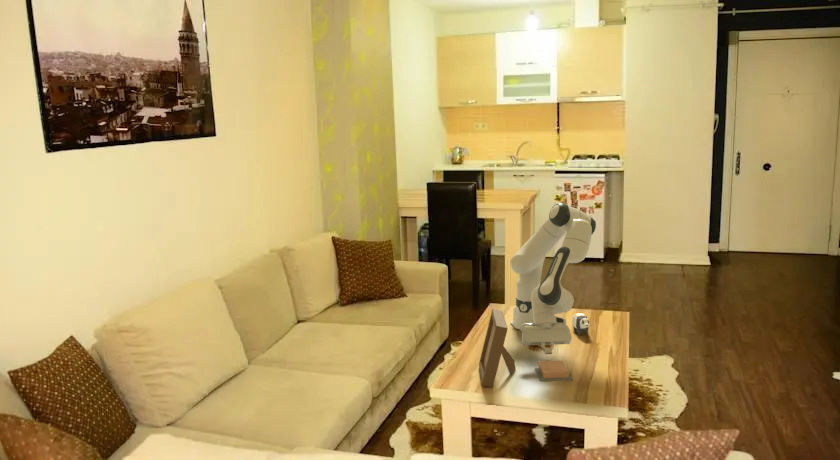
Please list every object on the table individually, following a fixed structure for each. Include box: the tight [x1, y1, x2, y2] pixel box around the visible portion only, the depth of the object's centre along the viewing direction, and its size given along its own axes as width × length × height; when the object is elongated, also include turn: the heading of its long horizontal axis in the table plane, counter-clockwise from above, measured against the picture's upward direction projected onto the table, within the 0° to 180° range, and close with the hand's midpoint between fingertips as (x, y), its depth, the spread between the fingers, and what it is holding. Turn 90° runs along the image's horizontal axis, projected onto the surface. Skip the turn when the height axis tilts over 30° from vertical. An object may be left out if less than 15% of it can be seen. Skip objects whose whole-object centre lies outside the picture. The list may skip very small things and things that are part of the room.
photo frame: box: [478, 308, 516, 388], centre depth 276 cm, size 15×22×25 cm
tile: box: [537, 359, 570, 379], centre depth 279 cm, size 10×2×12 cm
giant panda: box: [571, 312, 590, 336], centre depth 323 cm, size 15×6×10 cm, turn 4°
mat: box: [534, 366, 574, 382], centre depth 278 cm, size 12×13×1 cm
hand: (548, 353), depth 283 cm, fingers closed
